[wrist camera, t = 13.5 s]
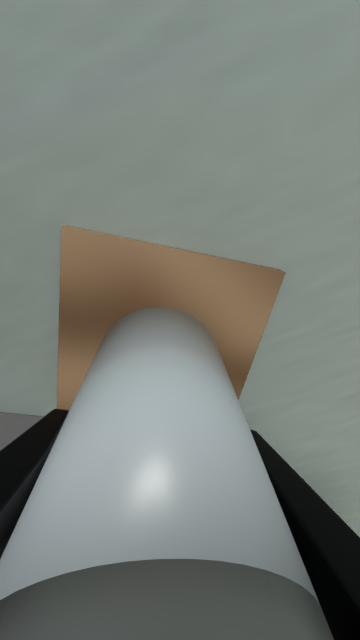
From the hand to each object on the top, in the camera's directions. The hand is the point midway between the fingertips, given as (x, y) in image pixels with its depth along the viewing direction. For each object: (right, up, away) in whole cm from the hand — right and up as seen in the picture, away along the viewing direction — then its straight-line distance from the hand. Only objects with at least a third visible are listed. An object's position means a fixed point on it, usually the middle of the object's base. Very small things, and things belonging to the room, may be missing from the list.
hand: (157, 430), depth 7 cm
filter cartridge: (0, +1, +3) cm, 4 cm away
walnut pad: (0, +2, +5) cm, 5 cm away
